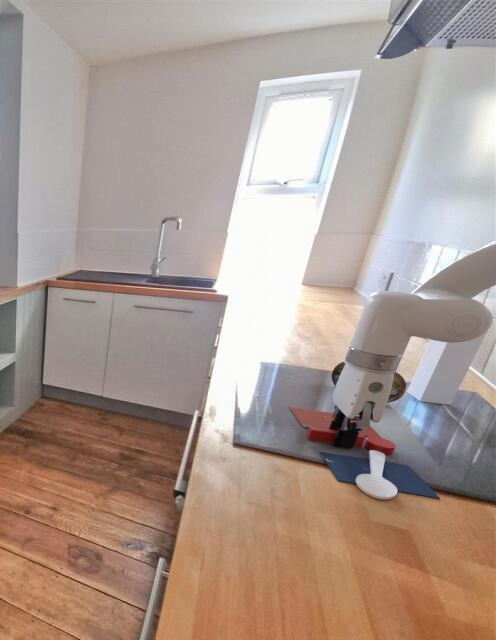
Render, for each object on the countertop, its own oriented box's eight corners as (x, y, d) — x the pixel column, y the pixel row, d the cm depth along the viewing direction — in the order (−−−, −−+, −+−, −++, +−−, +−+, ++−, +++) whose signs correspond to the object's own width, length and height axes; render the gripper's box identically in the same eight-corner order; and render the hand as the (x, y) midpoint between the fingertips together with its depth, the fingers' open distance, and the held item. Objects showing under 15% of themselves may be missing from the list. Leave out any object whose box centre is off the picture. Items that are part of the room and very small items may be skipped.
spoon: (395, 457, 79) (396, 455, 79) (397, 504, 67) (398, 502, 67) (359, 447, 82) (359, 445, 82) (354, 490, 70) (355, 488, 70)
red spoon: (386, 445, 84) (390, 435, 83) (397, 456, 80) (402, 446, 79) (303, 432, 88) (307, 423, 87) (310, 443, 85) (313, 433, 84)
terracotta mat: (360, 417, 95) (361, 416, 95) (381, 438, 86) (381, 437, 86) (289, 407, 99) (289, 407, 99) (302, 427, 91) (302, 426, 91)
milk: (450, 405, 100) (496, 317, 91) (418, 401, 102) (460, 314, 93) (435, 395, 105) (477, 310, 96) (405, 391, 107) (444, 308, 98)
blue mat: (408, 466, 77) (408, 465, 77) (439, 499, 69) (440, 498, 69) (318, 452, 82) (319, 451, 82) (338, 481, 73) (338, 480, 73)
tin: (326, 385, 111) (337, 356, 108) (334, 384, 112) (345, 355, 109) (391, 409, 98) (405, 377, 95) (400, 408, 99) (414, 375, 96)
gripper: (421, 377, 69) (379, 468, 77) (376, 348, 83) (345, 427, 91) (366, 371, 72) (331, 460, 79) (331, 344, 86) (304, 421, 93)
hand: (338, 442), depth 85 cm, fingers closed
